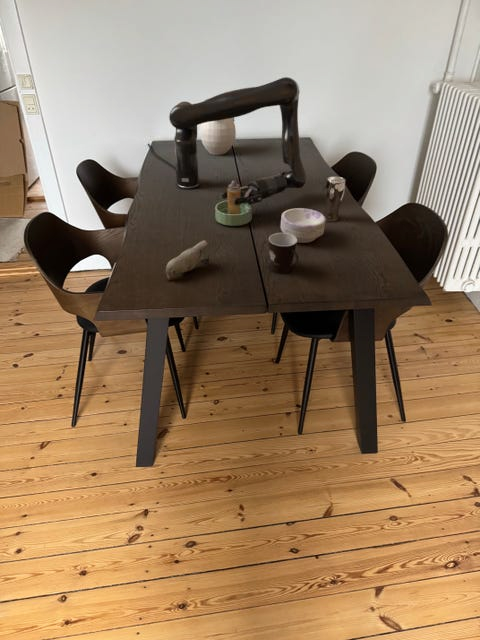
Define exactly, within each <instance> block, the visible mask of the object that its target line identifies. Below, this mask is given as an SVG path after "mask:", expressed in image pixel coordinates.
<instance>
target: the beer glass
mask: <svg viewBox="0 0 480 640" xmlns="http://www.w3.org/2000/svg"><path fill="white" fill-rule="evenodd" d="M345 189H346V179H345V178H344V177H341V176H336V175H335V176H328V177H327V178H326V184H325V189H324V212H323V213H322V214H323V215H324V216H325V219H326V221H325V222H331V223H332V222H337V221H338V220H340V213H339V212H340V208H341V204H342V202H343V199H344V196H345Z"/></svg>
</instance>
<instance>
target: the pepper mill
mask: <svg viewBox="0 0 480 640" xmlns="http://www.w3.org/2000/svg"><path fill="white" fill-rule="evenodd" d="M239 184H240V183H238V182H237V180H232V181H231V183H230V184H228V187H229V188H228V187H227V189H226V191H227V196H228V198H227V200H228V214H240V207H241V204H239V205H235V204H234V200H235V199H236V198H240V197H241V189H240V185H241V184H240V185H239Z"/></svg>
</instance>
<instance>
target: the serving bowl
mask: <svg viewBox="0 0 480 640" xmlns="http://www.w3.org/2000/svg"><path fill="white" fill-rule="evenodd" d="M214 212H215V213H214V214H215V220H216V222H217V223H219V224H221V225H224V226H229V227H238V226H243V225H246V224H248V223H250V222H251V221H252V219H253V204H251V205H249V204H248V203H246V204H245V203H242V204H241V207H240V214H228V199H226V200H223V201H220V202H218V203H217V204H215V206H214Z"/></svg>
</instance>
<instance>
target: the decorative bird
mask: <svg viewBox="0 0 480 640" xmlns="http://www.w3.org/2000/svg"><path fill="white" fill-rule="evenodd" d="M207 245H208V242H207V241H206V240H201V241H200V242H198V243H197V244H196V245H194V246H191V247H189V248H187V249H185V250H184V251H183V252H181V253H180V254H179V255H178V256H176V257H174V258H172V259H170V260H169V261H168V262H167V264H166V267H165V274H166V277H167V280H168V281H171V279H173V278H174V276H175V275H177V274H178V273H179V274H182V273H183V274H184V273H188V272H191V271H192V270H194V269H195V267H197V265H199V263H200V262H201V261H205V263H207V264H210V255H208V256H207V258H205V257H204V248H205V247H206V246H207Z"/></svg>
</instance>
